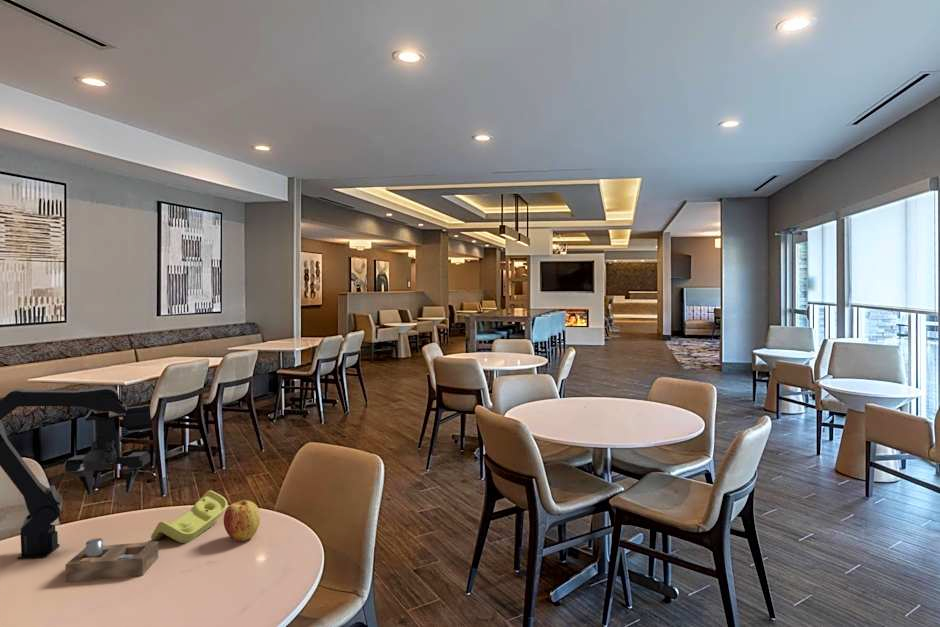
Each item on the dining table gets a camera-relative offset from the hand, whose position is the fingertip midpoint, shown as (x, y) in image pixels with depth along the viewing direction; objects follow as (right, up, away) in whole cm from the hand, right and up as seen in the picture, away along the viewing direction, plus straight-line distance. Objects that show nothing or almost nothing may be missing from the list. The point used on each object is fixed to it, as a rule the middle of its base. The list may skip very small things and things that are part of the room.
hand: (109, 493), depth 148 cm
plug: (+8, -12, -18) cm, 23 cm away
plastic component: (+20, -12, +6) cm, 24 cm away
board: (+12, -12, -17) cm, 24 cm away
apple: (+36, -12, -1) cm, 38 cm away
